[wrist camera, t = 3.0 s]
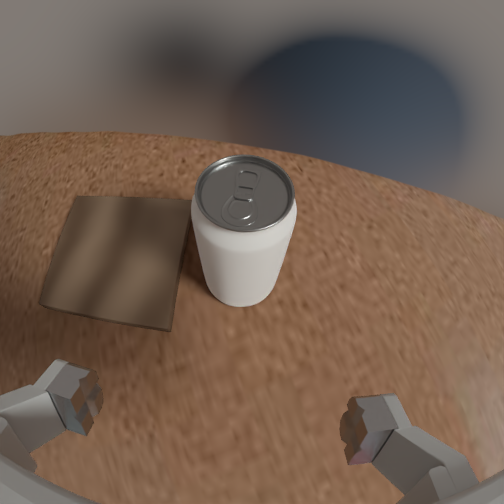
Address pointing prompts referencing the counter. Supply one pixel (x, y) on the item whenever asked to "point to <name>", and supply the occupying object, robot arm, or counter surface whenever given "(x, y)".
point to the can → (243, 226)
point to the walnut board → (120, 260)
